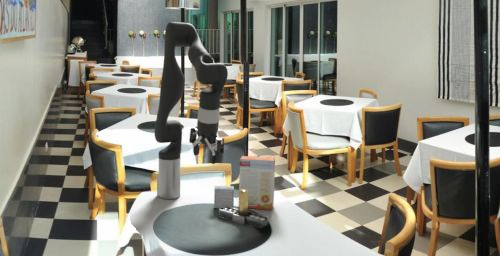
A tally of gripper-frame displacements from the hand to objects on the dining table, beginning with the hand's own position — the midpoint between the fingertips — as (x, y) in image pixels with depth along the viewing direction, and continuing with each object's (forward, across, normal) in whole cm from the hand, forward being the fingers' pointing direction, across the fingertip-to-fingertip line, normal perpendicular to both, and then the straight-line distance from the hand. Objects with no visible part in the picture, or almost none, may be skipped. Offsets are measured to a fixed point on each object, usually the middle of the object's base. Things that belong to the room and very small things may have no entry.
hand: (205, 158), depth 165 cm
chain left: (+24, +10, +6) cm, 27 cm away
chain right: (+22, +22, +7) cm, 31 cm away
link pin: (+23, +16, +6) cm, 28 cm away
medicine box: (+27, +2, +12) cm, 30 cm away
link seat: (+23, +16, +6) cm, 28 cm away
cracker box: (+27, +11, +22) cm, 36 cm away
